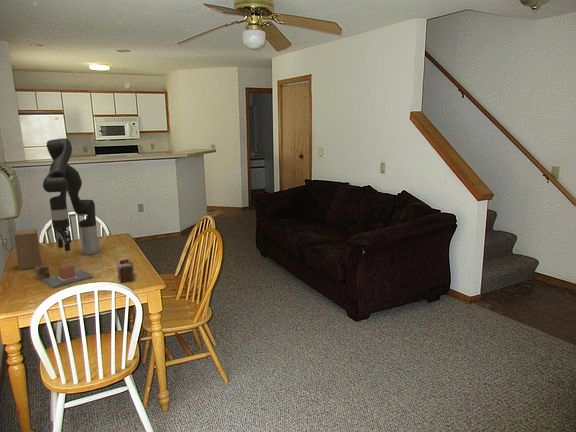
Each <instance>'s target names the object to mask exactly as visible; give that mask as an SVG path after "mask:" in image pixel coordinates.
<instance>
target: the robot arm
mask: <svg viewBox="0 0 576 432" xmlns="http://www.w3.org/2000/svg"><path fill="white" fill-rule="evenodd" d="M46 149H47V151H48V153H49V155H50V158H51V159H52V162H51V164H50V167H49V172H48V174H47V175H46V176H45V178H44V179H43V182H42V187H43V190H44V191H45V192H47V193H60V194H59V195H57V196H52V197H51V198H49V206H50V217H51V224H52V228H53V231H54V232H53V233H54V239H55V240H56V241H57V247H58V248H59V249H62V248H64V252H69V251H71V243H72V237H71V231H70V230H67V228H69V227H70V219H69V218H70V216H69V211H68V206H67V193H68V196H69V199H70V203H71V205H72V209H73V211H74V213H75V214H76V215H78V216H86V218H85V219H82V220H79V222H78V228H79V229H78V230H79V238H80V248H81V253H82V255H85V256H87V255H89V256H90V255H94V254H98V253H100V252H101V251H100V250H101V247H100V240H99V236H98V233H97V226H96V225H97V224H96V222H97V219H96V218H97V217H96V204H95V202H94V200H92V199H80V196H79V193H80V190H81V189H82V185H83V184H82V183H83V181H82V178H81V176H80V173H79V172H78V171H77V169H76V168H74V167H73V166H71V165H70V164H68V163H69V162H70V159H71V157H72V153H73V147H72V142H71V141H70V140H69V139H68V138H66V137H65V138H56V139H50V140H49V139H48V141H47V142H46Z"/></svg>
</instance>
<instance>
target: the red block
mask: <svg viewBox="0 0 576 432" xmlns="http://www.w3.org/2000/svg"><path fill="white" fill-rule="evenodd" d="M75 271H76V270H75V266H74V265H73V264H71V263H66V264H62V265H58V275H59V276H60V278H61V279H63V280H66V279H70V278H74V277H75Z"/></svg>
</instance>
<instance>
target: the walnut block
mask: <svg viewBox="0 0 576 432" xmlns="http://www.w3.org/2000/svg"><path fill="white" fill-rule="evenodd" d="M33 269H34V274H35V279H37V280H38V281H42V279H44V278H48V277H51V275H50V269H49V266H48V265H46V264H41V265H40V266H36V267H34V268H33Z"/></svg>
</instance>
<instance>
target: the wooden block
mask: <svg viewBox="0 0 576 432" xmlns="http://www.w3.org/2000/svg"><path fill="white" fill-rule="evenodd" d="M38 235H39V233H38V229H37V228H33V229H22V230H15V233H14V235H13V237H14V243H15V250H16V257H17V264H18V269H19V271H24V270H29V269H35V268H34V267H36V266H40V265H42V256H41V249H40V242H39V236H38Z"/></svg>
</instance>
